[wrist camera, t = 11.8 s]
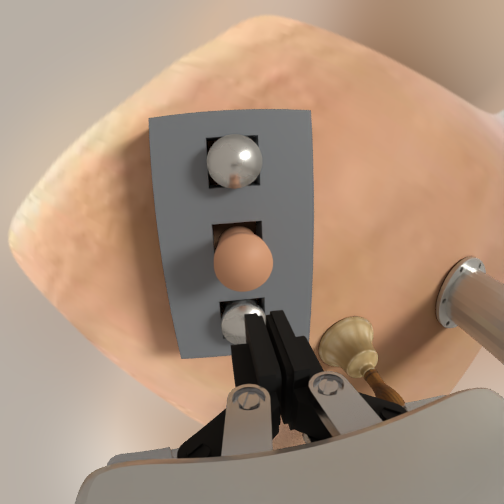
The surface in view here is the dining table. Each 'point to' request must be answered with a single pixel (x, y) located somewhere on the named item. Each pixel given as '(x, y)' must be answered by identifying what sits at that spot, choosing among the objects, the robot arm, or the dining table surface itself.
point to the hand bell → (356, 354)
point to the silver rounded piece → (238, 318)
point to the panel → (232, 218)
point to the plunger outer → (234, 161)
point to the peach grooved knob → (242, 259)
